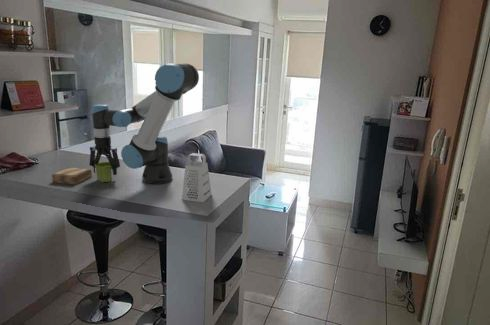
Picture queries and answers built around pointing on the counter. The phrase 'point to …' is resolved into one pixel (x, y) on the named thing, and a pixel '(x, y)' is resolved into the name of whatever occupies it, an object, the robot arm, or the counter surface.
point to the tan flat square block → (71, 175)
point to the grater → (196, 179)
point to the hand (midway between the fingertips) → (105, 179)
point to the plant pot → (104, 171)
